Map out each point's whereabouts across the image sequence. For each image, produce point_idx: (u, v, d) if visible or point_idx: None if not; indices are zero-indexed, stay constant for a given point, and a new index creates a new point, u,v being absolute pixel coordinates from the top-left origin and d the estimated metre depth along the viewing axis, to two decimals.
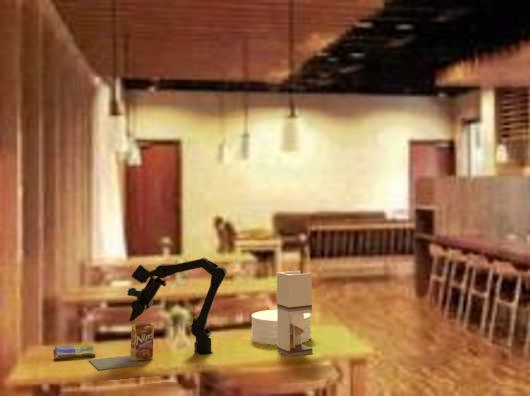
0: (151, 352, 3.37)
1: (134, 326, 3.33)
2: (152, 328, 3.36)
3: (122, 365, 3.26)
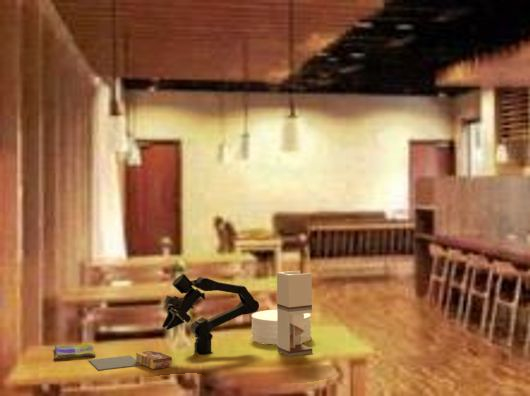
0: None
1: (152, 366, 3.20)
2: None
3: (122, 365, 3.26)
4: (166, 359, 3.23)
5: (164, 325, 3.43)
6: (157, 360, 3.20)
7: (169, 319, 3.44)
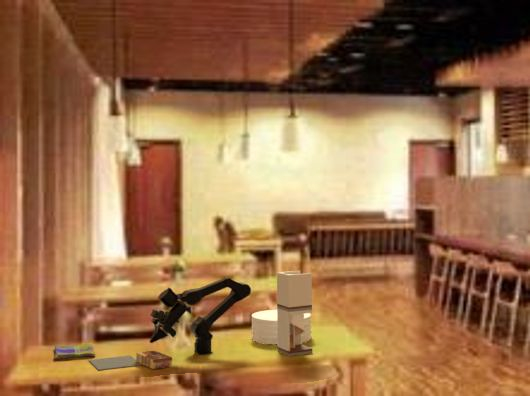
0: None
1: (152, 366, 3.20)
2: None
3: (122, 365, 3.26)
4: (166, 359, 3.23)
5: None
6: (157, 360, 3.20)
7: None
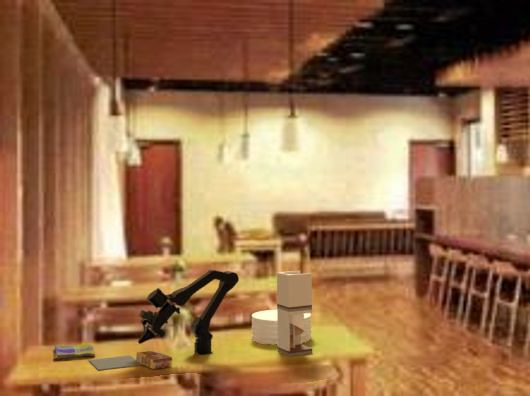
0: None
1: (152, 366, 3.20)
2: None
3: (122, 365, 3.26)
4: (166, 359, 3.23)
5: None
6: (157, 360, 3.20)
7: None
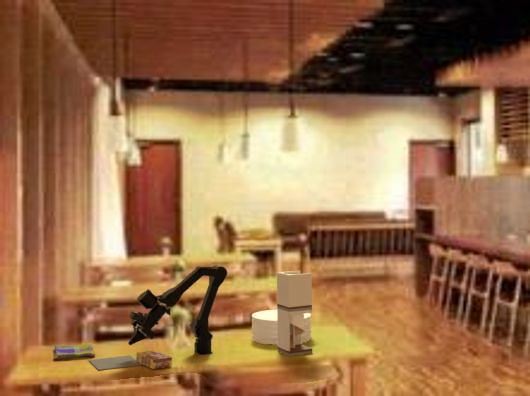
0: None
1: (152, 366, 3.20)
2: None
3: (122, 365, 3.26)
4: (166, 359, 3.23)
5: None
6: (157, 360, 3.20)
7: None
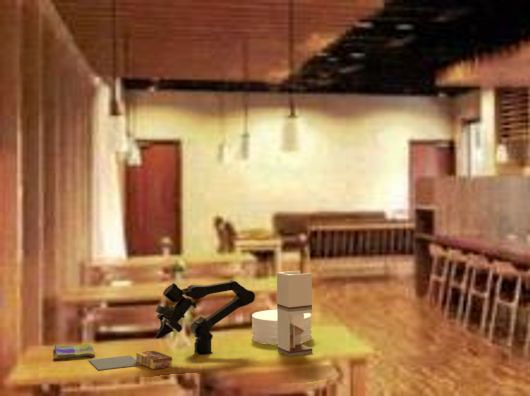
0: None
1: (152, 366, 3.20)
2: None
3: (122, 365, 3.26)
4: (166, 359, 3.23)
5: None
6: (157, 360, 3.20)
7: None
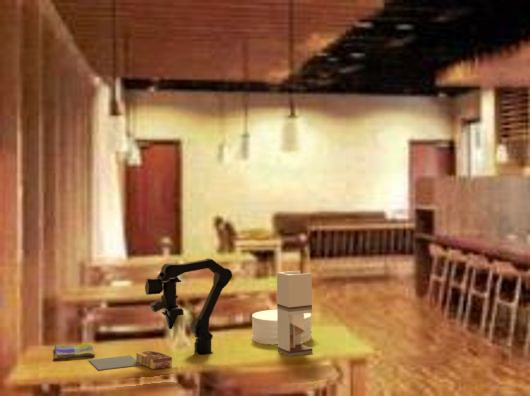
0: None
1: (152, 366, 3.20)
2: None
3: (122, 365, 3.26)
4: (166, 359, 3.23)
5: None
6: (157, 360, 3.20)
7: None
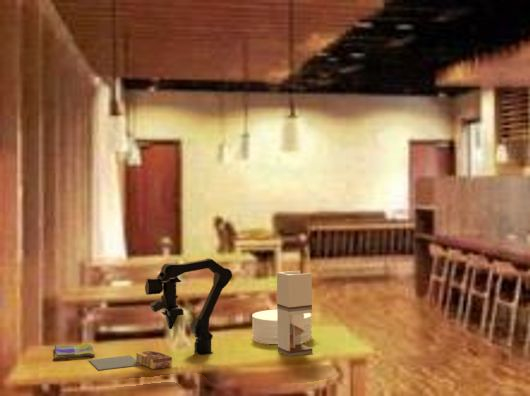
0: None
1: (152, 366, 3.20)
2: None
3: (122, 365, 3.26)
4: (166, 359, 3.23)
5: None
6: (157, 360, 3.20)
7: None
